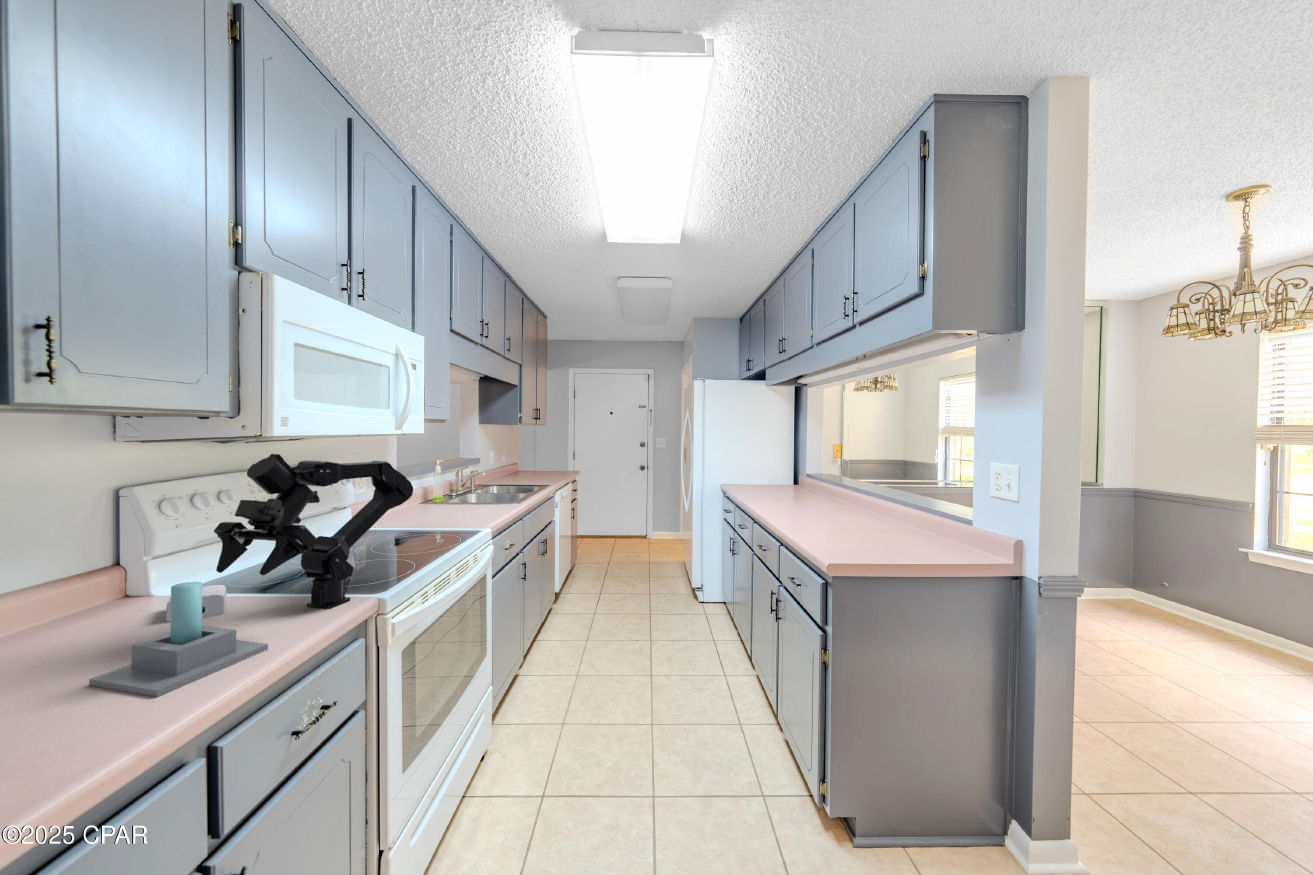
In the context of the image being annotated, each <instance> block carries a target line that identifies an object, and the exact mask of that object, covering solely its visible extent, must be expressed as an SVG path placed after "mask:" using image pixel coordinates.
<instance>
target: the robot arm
mask: <svg viewBox="0 0 1313 875" xmlns="http://www.w3.org/2000/svg"><path fill="white" fill-rule="evenodd" d="M246 476H247V478H249V479H251V481H252V482H253V483H255V484H256V485H257V486H258V487H260V488H261V489H262V490H263V491H264V492H265V493H266V494H268V495H276V494H277V495H276V497H275V498H267V500H265V501H264V500H263V501H262V500H252V499H241V500H240V501H239V502H238V506H237V508H236V510H235V513H234V516H235V517H241V518H244V519H247V524H248V525H250V526H252V527H253V529H252V528H250V529H249V528H248V527H247V526H246V525H244V524H243V523H242V522H239V521H223V522H222V521H221V522H219V524H218V525H217V526H216V527H215V528H214V530H213V533H215V534H216V536H217V537H218V538H219V539H220V540H221V543H222V545H221V552H220V554H219V557H218V558H219V559H218V562H217V565H216V566H217V567H216V572H218V573H219V574H221V573H223V572H224V571H226V570H228V569H229V567H230V566H231V565H233V564H234V563H235V562H236V561H237V560H238V559H239V558H240V557H241V556H243V554H245V553H246V552H247V551H249V550H248V548H247V547H248V546H250V545H252V543H253V541H255V540H258V541H268V542H269V541H270V542H272V541H273V542H275V544H274V545H275V546H274V547H273V549H272V551H271V552H270V554H269V555H268V557H267V558H266V560H265V561H264V563H263V565H262V566H261V568H260V570H259V574H260V575H261V576H265V575H268V574H269V573H271V572H272V571H274V570H275V569H277V568H278V567H279V566H281V565H283V564H284V563H286V562H288V561H290V560H292V559H293V558H295V557H297V556H299V555H301V556H300V558H301V559H300V566H301V568H302V570H303V571H304V574H305V576H306V578H308V579H309V578H311V579H312V586H311V588H310V589H311V590H310V591H311V592H310V594H311V595H310V602H307V603H306V606H307V607H315V608H322V609H323V608H324V609H332V608H334V607H335V606H336V607H337V606H338V605H341V604H344V603H346V602H349V601H351V600H350V599H351V597H347V596H346V580H347V579H348V578H350V577H352V576H353V572H354V566H353V565H352V564H351V563H350V562H349V561H347V560H348V559H349V555H350V551H351V548H352V547H353V546H354V545H355V544H356V543H357V542H358V541H359V540H360V539H361V538H362V537H363V536H365V534H366V533H367V532H368V531H369V530H370V529H372V527H373V526H374V525H375V524H376V523H377V522H378V521H379V520H380V519H382V517H383V516H384V515H385V514H386V513H387V512H388V511H389V510H391V509H392V510H393V509H394V508H396V507H399V506H401V505H403V504H404V503H406V502H407V501H409V500H410V498H411V497H412V496H413V493H414V487H413V485H412V482H411V481H410V480H409V479H408V478H407V477H406V476H405V475H404V474H403V473H401V472H400V471H398V470H396V469H395V468H394V467H393V465H391V463H390V462H388V461H387V460H386V461H385V460H384V461H383V460H372V461H364V462H363V461H362V462H345V463H339V462H333V461H332V462H331V461H326V460H325V461H324V460H323V461H322V460H320V461H319V460H304V459H303V460H300V461H298V464H297V465H296V466H290V465H289V464H288V463H287V462H286V461H285V459H284V458H283V457H282V455H280V454H279V453H270V455H268V457H265V458H262V459H260V460H258V461H257V462H254V463H253V464H251V465H250V467H249V468H248V469H247V471H246ZM363 478H371V479H370V480H371V485H372V486H373V487H374V490H373V496H372V498H371V500H369V501H368V502H367V503H366V504H365V505H364V506H363V507H362V508H361V509H360V510H359V511H358V512H357V513H356V514H355V515H353V516H351V518H350V519H349V520H348V521H346V523H344V525H343V526H342V527H341V528H339V529H338V530H337V531H336V532H335V533H334V534H333V535H332V536H325V535H319V536H317V537H316V536H315V535H314V534H313V533H312V532H311V531H310V529H309V528H307V526H306V525H304V524H300V523H301V522H302V519H301V518H300V515H301V514H302V512H303V511H304V509H305V508H306V506H307V505H308V504H319V503H320V501H321V498H320V496H319V495H318V491H317V490H312V489H311V488H310V487H321V488H322V487H324V488H325V487H328V486H332V485H335V484H337V483H339V482H340V481H344V480H351V479H353V480H354V479H363Z"/></svg>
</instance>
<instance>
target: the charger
mask: <svg viewBox="0 0 1313 875" xmlns="http://www.w3.org/2000/svg"><path fill="white" fill-rule="evenodd" d="M226 601H227V587H226V585H223V584H214V585H212V584H211V585H207V586H206V585H205V586H202V618H206V617H207V618H209V617H213V616H220V615H222V614H223V613H224V610H225V606H226V603H227V602H226ZM165 608H166V610H165V611H166V614H165V615H166V616H165V618H166V619H165V620H166V622H169V623H171V596H170V598H169V600H168V601H167V603H166V607H165Z"/></svg>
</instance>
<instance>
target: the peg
mask: <svg viewBox="0 0 1313 875" xmlns="http://www.w3.org/2000/svg"><path fill="white" fill-rule="evenodd" d="M202 587H203V582H202V581H188V582H181V583H176V584H174V585H171V587H170V597H171V622H170V644H175V645H183V644H186V643H189V642H192V641H194V640H197V639H200V638H202V625H203V622H202V621H203V619H202V618H203V617H202Z"/></svg>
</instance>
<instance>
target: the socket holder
mask: <svg viewBox="0 0 1313 875" xmlns="http://www.w3.org/2000/svg"><path fill="white" fill-rule="evenodd" d="M170 632H171V631H170ZM170 632H167V633H163V634H161V635H158V636H154V637H151V638H149V639H146V640H143V641H140V642H137V643H134V644H131V663H130V664H127V665H125V666H122V667H119V668H116V669H114V670H110V671H108V672H105V673H102V674H99V675H96V676H94V677H91V678H89V680H88V682H89V683H88V684H89V686H92V687H98V688H103V689H109V690H114V691H121V692H126V693H132V694H137V695H138V694H139V695H144V696H148V697H149V696H150V697H157V698H158V697H160V696H163V695H166V694H168V693H170V692H172V691H175V690H177V689H178V688H181V687H184V686H186V685H188V684H191V683H193V682H196V681H198V680H200V679H202V678H205V677H207V676H209V675H212V674H214V673H216V672H218V671H221V670H223V669H226V668H228V667H230V666H232V665H236V664H237V663H240V662H242V661H245V660H247V659H248V658H247V657H249V658H250V656H251V657H253V656H252V655H254V654H256V653H258V654H261V653H262V652H261V651H263V652H265V651H267V649H268V650H269V644H268V643H262V642H257V641H256V642H255V641H249V640H243V639H242V640H241V639H237V629H233V628H226V627H219V626H212V625H211V626H210V625H203V624H202V638H200V639H197V640H194V641H192V642H189V643H186V644H183V645H175V644H170ZM264 650H265V651H264ZM260 652H261V653H260ZM256 655H257V654H256ZM254 656H255V655H254ZM246 658H247V659H246ZM239 661H240V662H239Z"/></svg>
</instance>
